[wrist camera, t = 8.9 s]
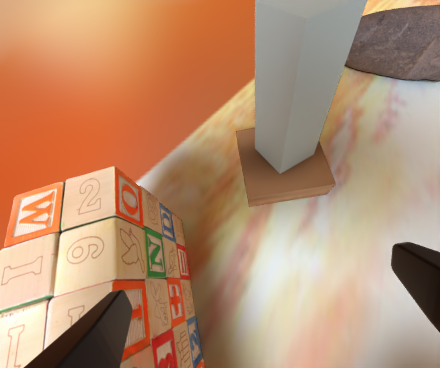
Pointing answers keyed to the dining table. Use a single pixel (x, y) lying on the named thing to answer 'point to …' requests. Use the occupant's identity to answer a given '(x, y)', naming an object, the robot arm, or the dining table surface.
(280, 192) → the base block
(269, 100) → the column
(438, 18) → the perforated stone tool
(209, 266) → the dining table surface
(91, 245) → the stack of blocks
